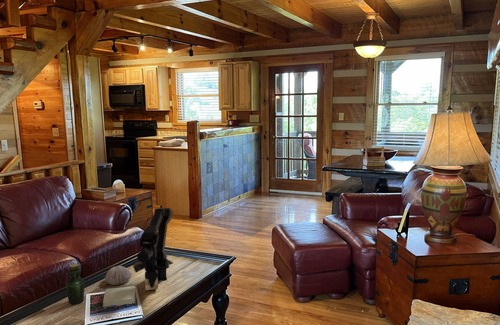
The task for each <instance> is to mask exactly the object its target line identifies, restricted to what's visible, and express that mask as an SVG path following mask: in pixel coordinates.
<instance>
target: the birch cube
mask: <svg viewBox="0 0 500 325" xmlns="http://www.w3.org/2000/svg"><path fill="white" fill-rule="evenodd" d="M144 280H145V281H144V282H145V283H144V284H145V291H150V290H158V289H159V281H158V278H157V279H156V281H155V284H154V286H153V288H151V287H150V284H149V280H148V279H145V278H144Z"/></svg>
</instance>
